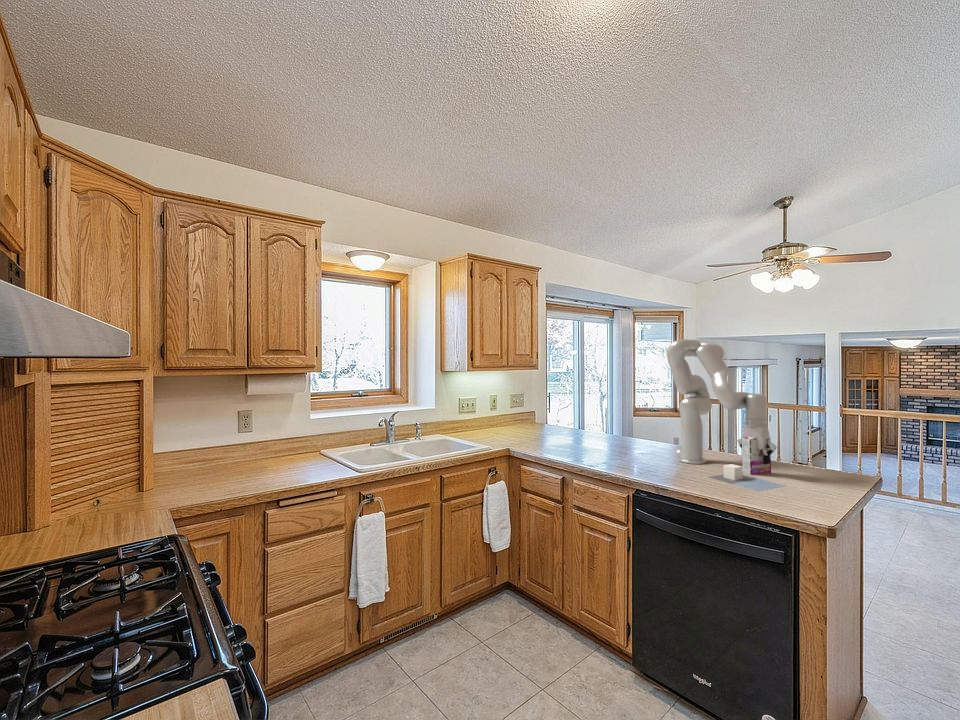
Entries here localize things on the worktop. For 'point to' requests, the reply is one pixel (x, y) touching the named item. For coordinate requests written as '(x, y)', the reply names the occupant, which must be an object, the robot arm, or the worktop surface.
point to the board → (749, 482)
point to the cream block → (733, 472)
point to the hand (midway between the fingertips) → (756, 461)
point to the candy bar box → (753, 458)
